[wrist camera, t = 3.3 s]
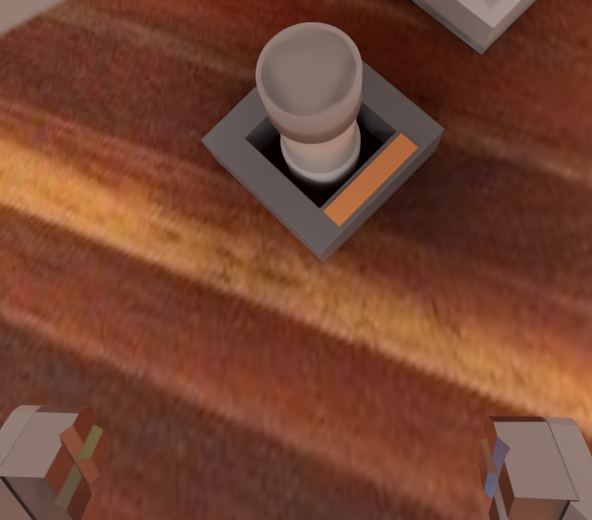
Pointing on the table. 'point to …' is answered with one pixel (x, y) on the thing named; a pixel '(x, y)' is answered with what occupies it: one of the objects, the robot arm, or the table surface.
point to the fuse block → (357, 190)
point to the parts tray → (476, 18)
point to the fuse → (314, 101)
